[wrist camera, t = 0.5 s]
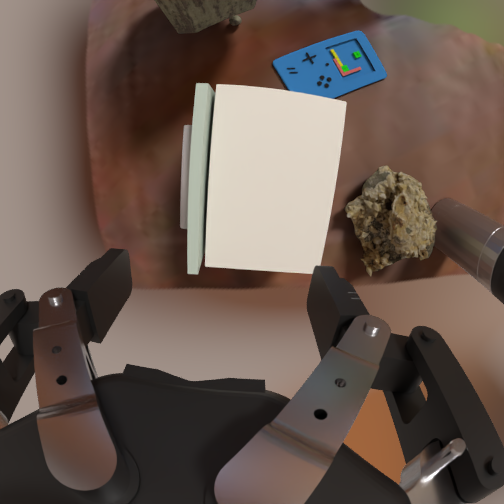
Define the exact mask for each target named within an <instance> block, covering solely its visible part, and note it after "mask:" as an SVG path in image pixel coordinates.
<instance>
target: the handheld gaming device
mask: <svg viewBox="0 0 504 504" xmlns="http://www.w3.org/2000/svg"><path fill="white" fill-rule="evenodd" d="M273 66H274V67H275V69H276V71H277V72H278V74H279V75H280V77H281V79H282V80H283V82H284V83H285V85H286V87H287V88H288V90H289V91H293V92H299V93H305V94H311V95H316V96H321V97H326V98H331V99H333V98H336V97H338V96H341V95H343V94H345V93H348V92H350V91H353V90H355V89H358V88H360V87H363V86H365V85H368V84H371V83H373V82H376V81H379V80H381V79H384V78H386V77H387V73H386V71H385V69H384V67H383V66H382V64H381V62H380V60H379V58H378V56H377V55H376V53H375V51H374V50H373V48H372V46H371V44H370V43H369V41H368V40H367V38H366V36H365V35H364V33H363V32H361V31H354V32H350V33H347V34H344V35H340V36H337V37H334V38H331V39H328V40H325V41H322V42H319V43H316V44H313V45H311V46H308V47H305V48H303V49H300V50H297V51H295V52H292V53H290V54H287V55H285V56H283V57H280V58H278V59H276V60H274V61H273Z"/></svg>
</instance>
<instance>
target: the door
mask: <svg viewBox="0 0 504 504" xmlns="http://www.w3.org/2000/svg"><path fill="white" fill-rule="evenodd" d="M215 95H216V94H215V92H214V91H213V89H212V88H211V86H210V85H209V84H208V83H196V90H195V100H194V111H193V122H192V125H184V134H183V150H182V169H181V199H180V228H182V229H188V235H187V263H188V274H198V273H199V269H200V266H201V262H202V259H203V255H204V252H205V248H206V222H207V200H208V182H209V166H210V152H211V139H212V127H213V116H214V105H215Z"/></svg>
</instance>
